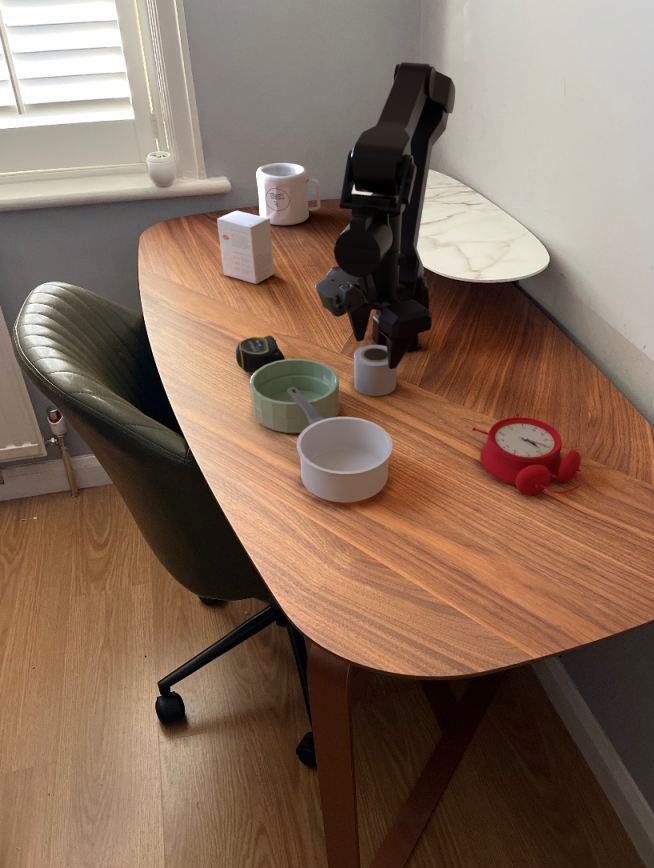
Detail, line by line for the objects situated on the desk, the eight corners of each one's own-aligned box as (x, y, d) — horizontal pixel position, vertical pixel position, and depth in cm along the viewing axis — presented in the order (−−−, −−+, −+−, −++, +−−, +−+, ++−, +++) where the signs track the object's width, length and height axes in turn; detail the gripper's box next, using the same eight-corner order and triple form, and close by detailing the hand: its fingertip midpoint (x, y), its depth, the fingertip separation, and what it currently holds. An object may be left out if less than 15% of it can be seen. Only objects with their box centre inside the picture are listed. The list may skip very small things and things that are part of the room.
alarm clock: (524, 405, 100) (607, 439, 88) (524, 447, 103) (604, 486, 91) (461, 425, 96) (539, 464, 84) (463, 469, 99) (538, 512, 87)
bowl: (323, 383, 111) (322, 353, 107) (350, 426, 102) (350, 394, 99) (244, 397, 107) (241, 366, 104) (265, 443, 99) (262, 411, 96)
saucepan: (329, 410, 104) (329, 376, 100) (408, 491, 92) (411, 454, 88) (254, 434, 100) (250, 398, 96) (326, 522, 87) (325, 485, 83)
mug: (253, 224, 160) (249, 175, 154) (267, 207, 169) (264, 160, 162) (315, 229, 159) (314, 179, 152) (325, 212, 167) (324, 164, 161)
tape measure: (286, 375, 112) (285, 352, 110) (241, 381, 111) (239, 358, 108) (276, 353, 117) (275, 331, 115) (233, 359, 116) (231, 337, 113)
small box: (275, 275, 140) (271, 218, 134) (256, 285, 137) (251, 227, 130) (241, 265, 144) (236, 209, 137) (222, 275, 140) (216, 218, 133)
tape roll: (386, 371, 114) (387, 341, 110) (402, 391, 109) (403, 361, 106) (348, 378, 112) (348, 348, 109) (362, 399, 107) (362, 368, 104)
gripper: (290, 234, 100) (296, 340, 110) (361, 285, 88) (360, 399, 98) (362, 220, 104) (361, 323, 115) (438, 267, 92) (430, 377, 103)
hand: (375, 354), depth 107 cm, fingers open, 9 cm apart
